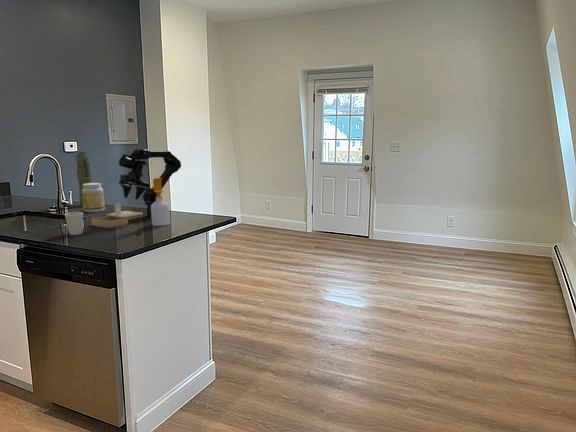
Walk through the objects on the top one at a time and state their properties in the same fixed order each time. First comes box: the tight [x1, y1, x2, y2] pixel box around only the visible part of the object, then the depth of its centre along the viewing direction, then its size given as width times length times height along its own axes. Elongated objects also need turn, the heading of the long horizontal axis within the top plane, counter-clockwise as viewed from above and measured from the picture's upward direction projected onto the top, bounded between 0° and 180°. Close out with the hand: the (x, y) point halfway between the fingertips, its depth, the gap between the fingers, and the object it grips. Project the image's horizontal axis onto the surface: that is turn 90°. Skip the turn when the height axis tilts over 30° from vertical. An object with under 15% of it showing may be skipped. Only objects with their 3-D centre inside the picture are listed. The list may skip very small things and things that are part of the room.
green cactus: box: [75, 151, 93, 207], centre depth 288 cm, size 9×12×35 cm
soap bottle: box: [150, 177, 171, 227], centre depth 227 cm, size 9×9×25 cm
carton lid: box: [105, 202, 144, 218], centre depth 236 cm, size 12×14×7 cm
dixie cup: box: [64, 211, 84, 236], centre depth 210 cm, size 8×8×10 cm
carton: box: [90, 215, 129, 229], centre depth 230 cm, size 12×14×4 cm
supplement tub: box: [82, 182, 106, 213], centre depth 270 cm, size 12×12×17 cm
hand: (130, 198), depth 239 cm, fingers open, 9 cm apart
